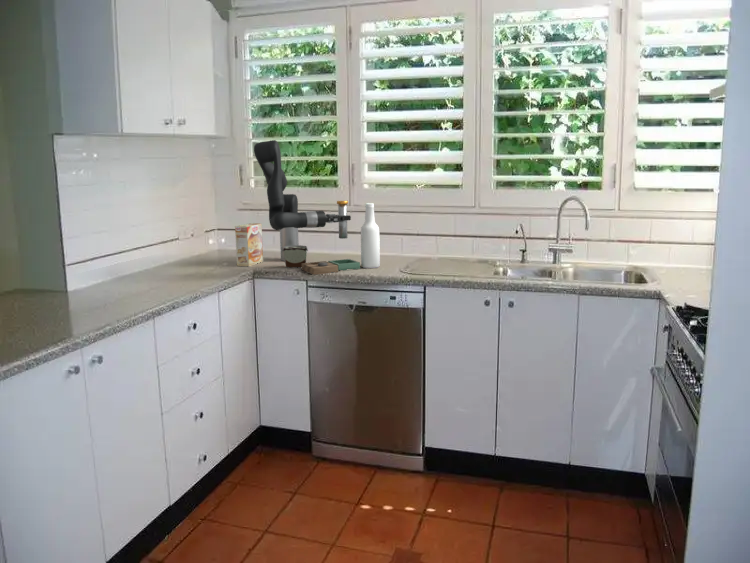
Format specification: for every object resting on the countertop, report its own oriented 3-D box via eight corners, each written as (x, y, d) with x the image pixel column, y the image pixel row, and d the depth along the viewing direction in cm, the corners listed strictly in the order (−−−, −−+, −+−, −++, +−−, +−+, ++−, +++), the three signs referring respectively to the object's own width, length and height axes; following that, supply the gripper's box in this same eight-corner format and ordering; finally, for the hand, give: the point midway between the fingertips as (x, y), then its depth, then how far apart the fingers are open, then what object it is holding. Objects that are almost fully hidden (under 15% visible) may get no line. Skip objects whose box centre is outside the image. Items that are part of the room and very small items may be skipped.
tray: (328, 267, 319) (328, 260, 319) (349, 265, 324) (349, 258, 324) (338, 270, 309) (338, 264, 308) (360, 268, 314) (359, 262, 313)
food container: (310, 265, 324) (310, 245, 322) (308, 267, 318) (307, 247, 316) (285, 265, 325) (284, 245, 324) (282, 267, 319) (281, 247, 318)
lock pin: (335, 237, 315) (335, 200, 312) (346, 237, 317) (345, 200, 314) (340, 239, 310) (339, 201, 307) (350, 238, 313) (349, 201, 309)
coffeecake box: (249, 266, 324) (247, 226, 320) (236, 266, 326) (234, 226, 322) (264, 261, 338) (262, 223, 334) (251, 261, 340) (249, 222, 336)
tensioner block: (301, 269, 313) (301, 260, 313) (325, 267, 319) (325, 258, 318) (313, 274, 300) (313, 265, 300) (338, 272, 306) (337, 263, 305)
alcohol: (361, 268, 314) (360, 204, 308) (361, 265, 323) (360, 202, 317) (380, 268, 314) (379, 203, 308) (379, 265, 323) (378, 202, 317)
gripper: (319, 212, 299) (354, 210, 306) (308, 210, 311) (342, 208, 319) (320, 229, 300) (354, 226, 308) (308, 226, 313) (342, 224, 320)
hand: (348, 217), depth 313 cm, fingers closed on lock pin, 4 cm apart
